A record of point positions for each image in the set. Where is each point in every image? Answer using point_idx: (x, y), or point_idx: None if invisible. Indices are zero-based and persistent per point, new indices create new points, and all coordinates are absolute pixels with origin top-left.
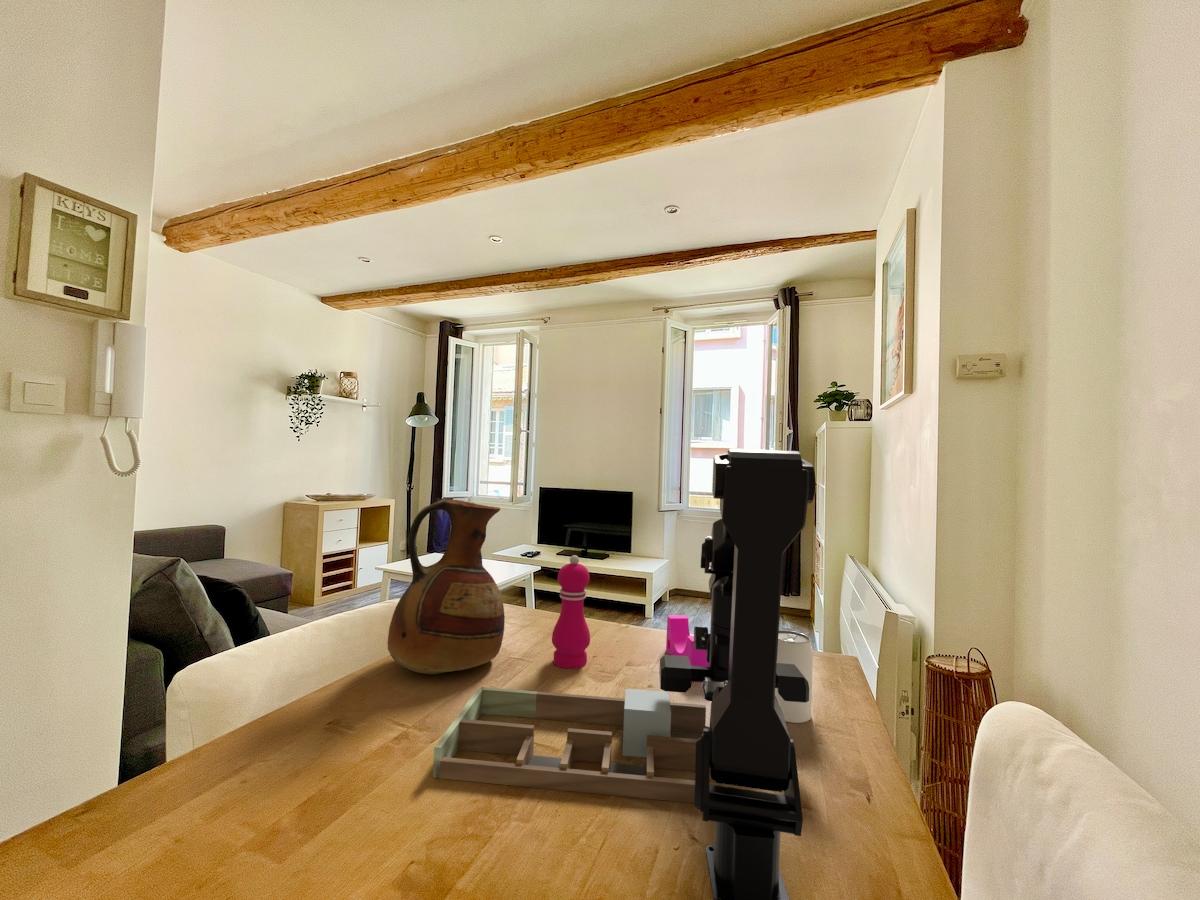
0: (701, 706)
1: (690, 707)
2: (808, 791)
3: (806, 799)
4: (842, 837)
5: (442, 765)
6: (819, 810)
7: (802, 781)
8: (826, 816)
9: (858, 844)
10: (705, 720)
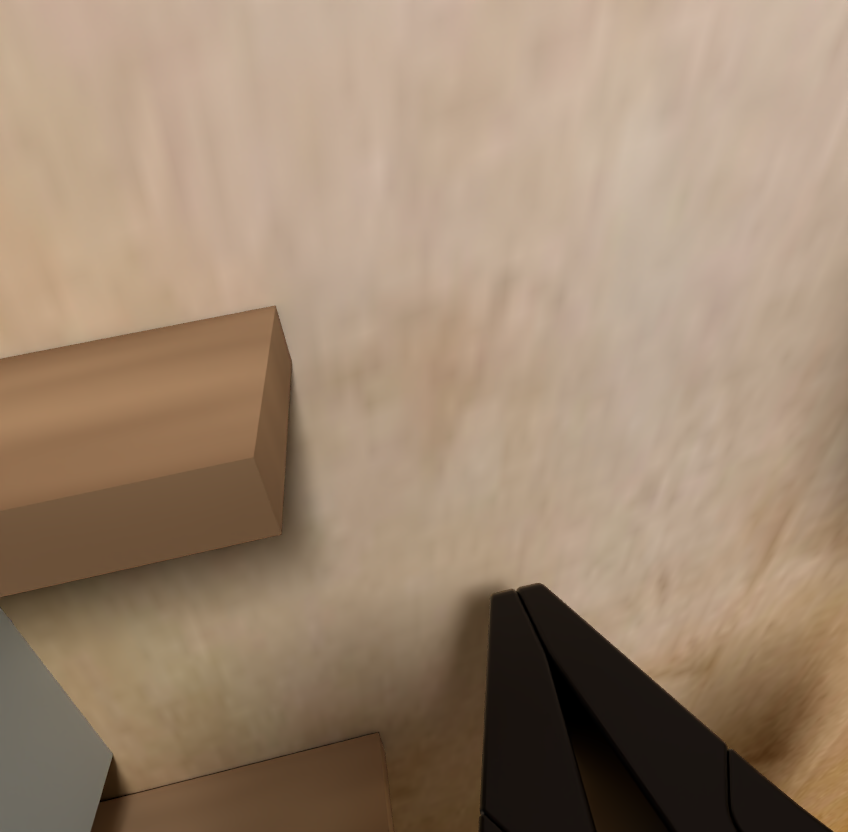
0: (197, 519)
1: (22, 582)
2: (829, 680)
3: (791, 723)
4: (811, 812)
5: None
6: (808, 751)
7: (843, 632)
8: (816, 764)
9: (842, 814)
10: (286, 424)
